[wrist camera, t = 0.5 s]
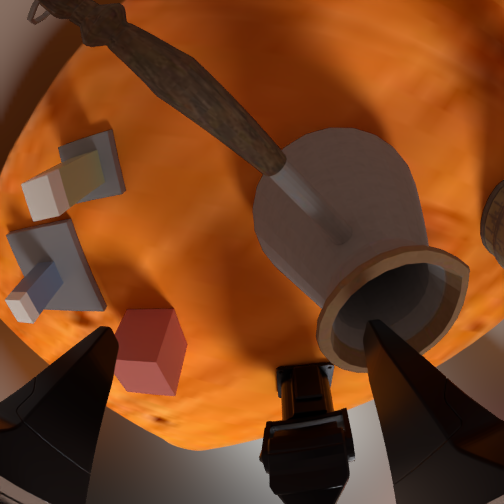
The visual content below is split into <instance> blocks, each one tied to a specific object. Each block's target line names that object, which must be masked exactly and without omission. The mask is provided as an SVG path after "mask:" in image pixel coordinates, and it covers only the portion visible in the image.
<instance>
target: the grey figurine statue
mask: <svg viewBox="0 0 504 504" xmlns="http://www.w3.org/2000/svg"><path fill="white" fill-rule="evenodd" d="M480 235H481V239H482V243H483V245H484V246H485V248H486V249H487V250H488V251H489V252H490V253H491V254H493V255H494V256H495V257H496V260H497V261H498V263H499V264H500V265H501V267H502V268H503V269H504V180H503V181H502V182H501V183H500V184H498V185H497V186H496V187H495V189H494V190H493V192H492V193H491V195H490V196H489V198H488V201H487V203H486V205H485V208H484V210H483V215H482V220H481V234H480Z"/></svg>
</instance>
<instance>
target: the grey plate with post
mask: <svg viewBox="0 0 504 504" xmlns="http://www.w3.org/2000/svg"><path fill="white" fill-rule="evenodd" d="M6 236H7V239H8V241H9V244H10V246H11V248H12V251H13V253H14V255H15V258H16V260H17V262H18V264H19V266H20V268H21V271H22V273H23V275H24V278H23V279H22V280H21V282H20V283H19V284H18V285H17V286H16V287H15V288H14V290H13V291H12V292H11V293H10V294H9V295H8V297H7V298H6V299H5V301H6V303H7V305H8V306H9V308H10V310H11V311H12V313H13V315H14V316H15V318H16V319H17V321H18V322H25V323H34V322H35V321H36V319H37V318H38V316H39V315H40V314H41V312H42V311H43V309H47V310H71V311H105V309H106V307H107V305H106V303H105V301H104V299H103V297H102V295H101V293H100V291H99V288H98V286H97V284H96V282H95V279H94V277H93V275H92V272H91V270H90V268H89V265H88V263H87V260H86V258H85V256H84V253H83V250H82V248H81V245H80V243H79V240H78V237H77V235H76V232H75V229H74V226H73V223H72V220H71V219H66V220H61V221H56V222H52V223H47V224H42V225H38V226H33V227H29V228H24V229H20V230H16V231H11V232H9V233H8V234H7V235H6Z"/></svg>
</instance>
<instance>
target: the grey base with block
mask: <svg viewBox="0 0 504 504" xmlns="http://www.w3.org/2000/svg"><path fill="white" fill-rule="evenodd" d="M58 149H59V154H60V158H61V162H62V163H60V164H58V165H56V166H54V167H52V168H50V169H48V170H46V171H44V172H42V173H41V174H39V175H37V176H35V177H33V178H31V179H30V180H28V181H26V182H24V183H23V184H21V185H22V189H23V192H24V195H25V199H26V202H27V205H28V208H29V211H30V214H31V217H32V219H33V222H35V221H39V220H43V219H48V218H52V217H57V216H60V215H61V214H63V213H64V212H65V211H66V210H68V209H69V208H70V207H72V206H73V205H74V204H76V203H80V202H85V201H90V200H94V199H99V198H104V197H109V196H115V195H120V194H123V193H124V192H125V191H126V189H125V185H124V181H123V176H122V172H121V168H120V164H119V159H118V155H117V150H116V145H115V140H114V135H113V130H112V129H111V130H108V131H105V132H101V133H98V134H95V135H92V136H89V137H86V138H83V139H80V140H77V141H74V142H71V143H68V144H66V145H63V146H60V147H58Z"/></svg>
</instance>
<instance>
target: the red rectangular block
mask: <svg viewBox="0 0 504 504" xmlns="http://www.w3.org/2000/svg"><path fill="white" fill-rule="evenodd" d="M115 337H116V339H117V341H118V343H119V350H118V355H117V360H116V365H115V371H114V374H115V376H116V377H117V378H118V380H119V381H120V383H121V384H122V385H123V387H124V388H125V389H126V391H128V392H136V393H145V394H155V395H167V396H175V395H176V391H177V386H178V382H179V378H180V373H181V369H182V365H183V361H184V356H185V352H186V348H187V342H186V340H185V337H184V335H183V332H182V329H181V327H180V324H179V321H178V318H177V316H176V313H175V310H174V309H127V311H126V313H125V315H124V317H123V319H122V321H121V323H120V325H119V327H118V329H117V331H116V333H115Z"/></svg>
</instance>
